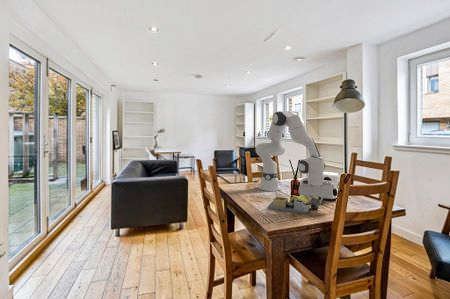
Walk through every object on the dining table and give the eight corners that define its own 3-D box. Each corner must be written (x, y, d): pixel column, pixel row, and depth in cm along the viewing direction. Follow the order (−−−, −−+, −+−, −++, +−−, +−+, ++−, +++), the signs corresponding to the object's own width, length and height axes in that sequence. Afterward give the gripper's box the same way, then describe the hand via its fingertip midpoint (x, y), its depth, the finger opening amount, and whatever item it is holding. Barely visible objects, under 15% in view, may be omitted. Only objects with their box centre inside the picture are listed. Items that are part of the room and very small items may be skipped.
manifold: (272, 203, 164) (272, 195, 164) (309, 208, 154) (310, 199, 154) (268, 208, 153) (268, 199, 153) (307, 214, 143) (308, 205, 143)
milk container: (312, 199, 175) (313, 174, 173) (315, 193, 190) (316, 170, 189) (338, 202, 167) (340, 176, 165) (340, 196, 182) (341, 172, 181)
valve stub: (311, 206, 156) (311, 194, 155) (318, 207, 154) (319, 195, 153) (310, 208, 152) (311, 195, 151) (318, 209, 150) (318, 196, 149)
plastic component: (303, 203, 157) (292, 194, 164) (299, 211, 161) (288, 202, 167) (319, 195, 170) (308, 187, 176) (315, 203, 173) (304, 195, 179)
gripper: (334, 182, 150) (333, 203, 151) (299, 178, 158) (299, 199, 160) (333, 184, 144) (332, 206, 145) (298, 180, 153) (297, 202, 154)
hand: (314, 202), depth 153 cm, fingers closed on valve stub, 4 cm apart
